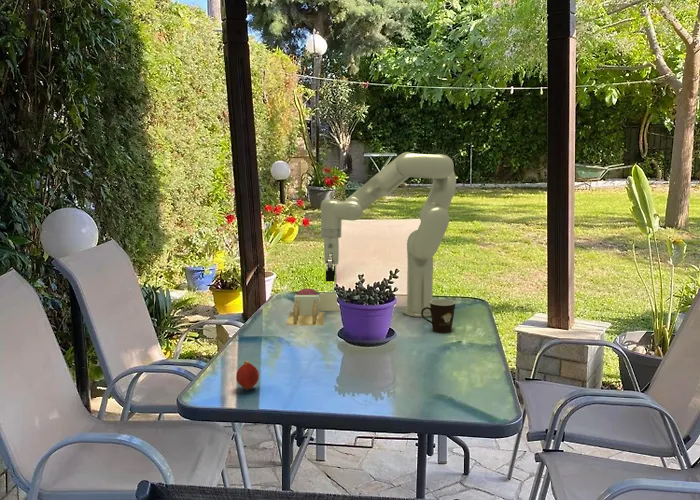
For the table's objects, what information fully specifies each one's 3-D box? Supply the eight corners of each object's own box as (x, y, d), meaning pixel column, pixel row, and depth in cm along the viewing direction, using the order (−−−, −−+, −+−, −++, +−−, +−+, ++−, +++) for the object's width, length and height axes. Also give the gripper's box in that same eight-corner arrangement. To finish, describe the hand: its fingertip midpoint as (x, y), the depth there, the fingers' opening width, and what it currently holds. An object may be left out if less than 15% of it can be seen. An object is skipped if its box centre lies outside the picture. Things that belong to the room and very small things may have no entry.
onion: (249, 383, 174) (248, 355, 172) (263, 388, 170) (262, 360, 169) (232, 390, 169) (231, 361, 168) (247, 395, 166) (246, 366, 164)
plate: (319, 313, 236) (319, 294, 235) (319, 315, 234) (319, 296, 233) (295, 313, 237) (294, 295, 235) (294, 315, 234) (294, 296, 233)
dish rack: (325, 315, 239) (325, 296, 238) (323, 329, 222) (323, 308, 221) (290, 315, 239) (290, 296, 238) (285, 329, 222) (285, 308, 221)
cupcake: (293, 308, 249) (293, 278, 247) (301, 302, 257) (301, 273, 255) (314, 309, 247) (313, 279, 245) (321, 304, 255) (321, 274, 253)
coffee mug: (453, 327, 224) (454, 299, 222) (455, 334, 216) (456, 305, 214) (420, 326, 225) (420, 298, 224) (420, 333, 217) (421, 305, 215)
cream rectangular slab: (344, 313, 243) (344, 292, 241) (344, 314, 240) (344, 294, 239) (320, 313, 243) (320, 292, 241) (320, 314, 240) (319, 294, 239)
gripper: (340, 236, 227) (340, 283, 230) (341, 229, 244) (341, 273, 247) (319, 236, 227) (319, 283, 230) (322, 229, 244) (321, 273, 247)
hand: (330, 278), depth 239 cm, fingers open, 9 cm apart
